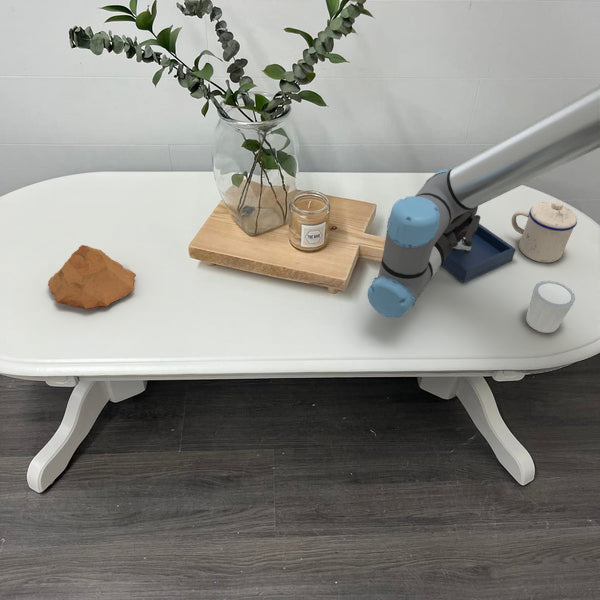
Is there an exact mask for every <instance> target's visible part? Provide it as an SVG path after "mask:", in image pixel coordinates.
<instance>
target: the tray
mask: <svg viewBox="0 0 600 600" xmlns="http://www.w3.org/2000/svg"><path fill="white" fill-rule="evenodd" d="M472 240H473V243H472V247H471V250H470V253H469V254H466V253H464V252H463V250H462V249H456V251H454V252H452V253H450V254H449V256H448V257H447V259H446V260H445V261H444V263H443V264H442V265H441V267H443V269H446V270H447V271H448V272H449V273H450V274H451V275H453V276H454V277H455V278H456V279H458V280H459V281H460V282H461V283H463V284H464V283H467V282H468V281H471V280H473V279H475V278H477V277H479V276H482V275H485V274H486V273H488V272H490V271H493V270H495V269H497V268H499V267H501V266H504V265H505V264H509V263H510V262H512V261H513V259H514V256H515V253H516V251H517V248H515V247H514V246H512V245H511V244H510V243H508V242H507V241H505V240H504V239H502V238H501V237H499V236H498V235H497V234H495V233H494V232H492V231H491V230H489V229H488V228H486V227H485V226H483V225H482V224H481V223H479V225H478V228H477V230H476V232H475V235H474V237H473V239H472Z"/></svg>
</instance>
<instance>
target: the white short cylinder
mask: <svg viewBox="0 0 600 600" xmlns="http://www.w3.org/2000/svg"><path fill="white" fill-rule="evenodd" d="M575 301H576V296H575V293H574V292H573V291H572V289H570V288H569V287H568V286H566V285H565V284H563V283H560V282H559V281H552V280H544V281H543V280H542V281H540V282H537V283H536V284H535V286H534V288H533V291H532V295H531V297H530V302H529V305H528V309H527V312H526V316H525V320H526V323H527V324H528V326H530V327H531V328H532V329H533V330H535V331H537V332H540V333H544V334H545V333H546V334H550V333H554V332H556V331H557V330H558V328H559V327H560V325H561V323H562V322H563V321H564V319H565V317H566V316H567V315H568V313H569V311H570V310H571V308H572V307H573V305H574V303H575Z"/></svg>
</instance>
